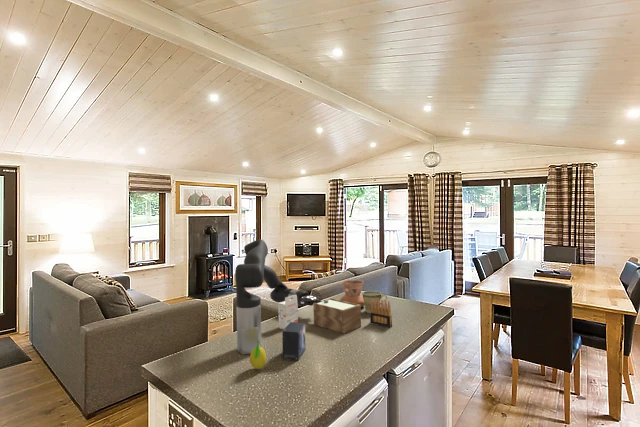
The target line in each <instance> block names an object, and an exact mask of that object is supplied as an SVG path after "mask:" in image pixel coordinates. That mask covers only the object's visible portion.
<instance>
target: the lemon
mask: <svg viewBox="0 0 640 427" xmlns="http://www.w3.org/2000/svg"><path fill="white" fill-rule="evenodd" d="M258 343H259V344H260V340H259V341H258ZM260 345H261V347H259V346H258V345H257V347H256V348H254V349H253V350H252V352H251V354H250V356H249V363H250V365H251V367H253V368H255V369H256V370H260V369H261V368H263V367H264V366H265V365H266V364H267V353H266V351H265V349H264V348H263V347H262V343H261V344H260Z"/></svg>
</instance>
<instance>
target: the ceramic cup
mask: <svg viewBox="0 0 640 427" xmlns="http://www.w3.org/2000/svg"><path fill="white" fill-rule="evenodd" d="M361 293H362V297H363V299H364V304H365V305H364V309H365V312H366V313H367V314H370V313H371V300H372V298H373V300H374V304H375V298H376V300H377V307H378V300H380V301H381V300H382V298H383V297H385V299H383V303H385V300H386V301H387V299H388V296H387V295H386V294H382V292H381V291H377V290H365V291H363V292H361ZM380 306H381V302H380Z"/></svg>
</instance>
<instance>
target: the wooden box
mask: <svg viewBox="0 0 640 427" xmlns="http://www.w3.org/2000/svg"><path fill="white" fill-rule="evenodd" d="M329 300H333V301H338V302H342V303H347V304H351V305H356V306H353V307H350V308H347V309H344V310H341V309H337V308H333V307H329V306H325V305H321V304H317V303H313V304H314V305H313V325H315V326H319V327H322V328H325V329H329V330H332V331H335V332H338V333H341V334H347V333H348V332H351V331H353V330H355V329H359V328H361V327H362V313H361V312H362V310H361V309H362V307H361V305H359V304H354V303H350V302H345V301H341V300H340V299H336V298H329Z"/></svg>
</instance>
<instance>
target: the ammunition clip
mask: <svg viewBox="0 0 640 427" xmlns="http://www.w3.org/2000/svg"><path fill="white" fill-rule="evenodd" d="M384 300H385V299H380V300H378V307H377V300H376V298H375V304H374V300H373V298H372V300H371V313H369V314H370V315H369V317H370V321H369V322H370V323H369V324H372V323H373V325H376V324H377V326H381V327H386V328H392V327H393V319H392V310H391V302H390V300H388V301H387V300H385V301H384ZM383 301H384V302H383ZM380 303H381V305H380Z"/></svg>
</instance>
